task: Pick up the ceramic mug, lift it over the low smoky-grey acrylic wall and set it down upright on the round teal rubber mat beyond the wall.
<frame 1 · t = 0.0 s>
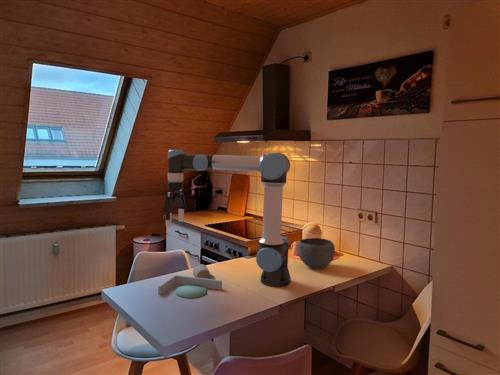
hand: (175, 224, 188), 28 cm above the table, fingers open, 13 cm apart
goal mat: (191, 292, 173), on the table
end wall: (167, 288, 177), on the table
divider wall: (198, 286, 181), on the table
bowl: (315, 267, 217), on the table
ceramic mug: (204, 281, 189), on the table
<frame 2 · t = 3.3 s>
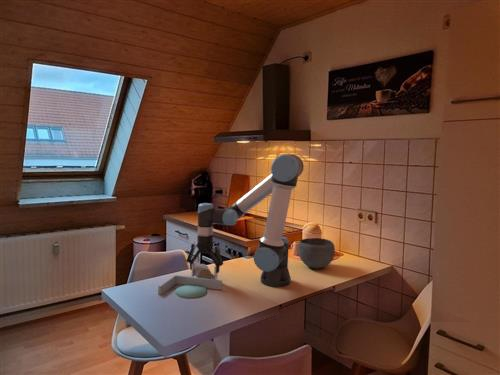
hand: (204, 277, 189), 2 cm above the table, fingers closed on ceramic mug, 11 cm apart
ceramic mug: (205, 280, 189), on the table, touching gripper
everything else where it was.
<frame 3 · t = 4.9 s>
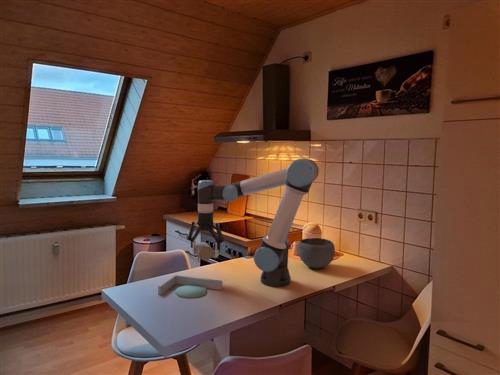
hand: (205, 255, 187), 13 cm above the table, fingers closed on ceramic mug, 11 cm apart
ceramic mug: (206, 258, 188), point 11 cm above the table, touching gripper
everything else where it was.
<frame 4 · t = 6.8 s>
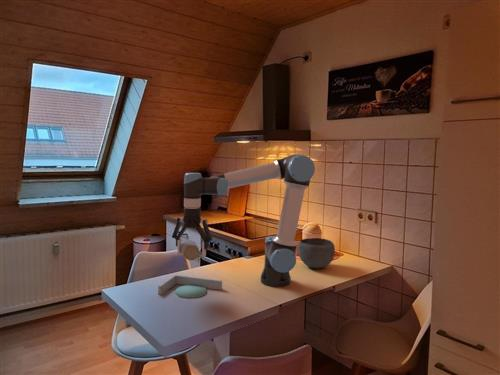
hand: (191, 254, 172), 17 cm above the table, fingers closed on ceramic mug, 11 cm apart
ceramic mug: (192, 258, 172), point 16 cm above the table, touching gripper
everything else where it was.
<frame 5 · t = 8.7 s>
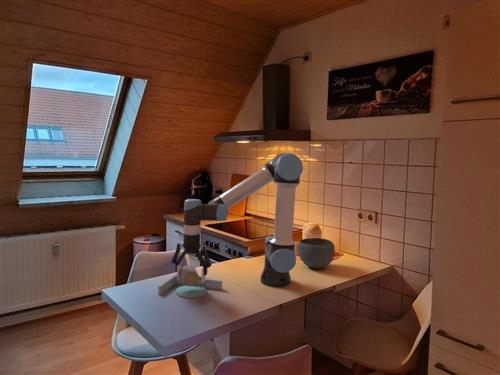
hand: (191, 280, 173), 6 cm above the table, fingers closed on ceramic mug, 11 cm apart
ceramic mug: (192, 283, 173), point 4 cm above the table, touching gripper
everything else where it was.
when the fingers open (4 cm above the table, at t = 10.2 s): ceramic mug drops 1 cm, resting on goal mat.
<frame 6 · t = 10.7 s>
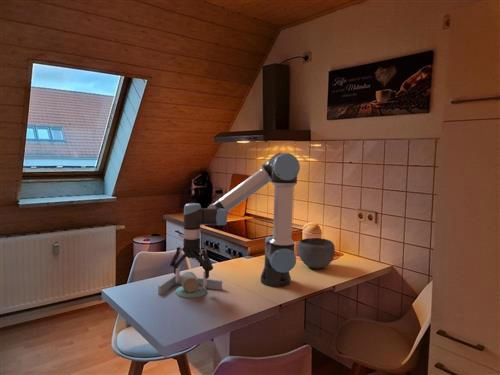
hand: (191, 283, 173), 4 cm above the table, fingers open, 13 cm apart
ceramic mug: (192, 290, 174), point 1 cm above the table, touching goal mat
everything else where it was.
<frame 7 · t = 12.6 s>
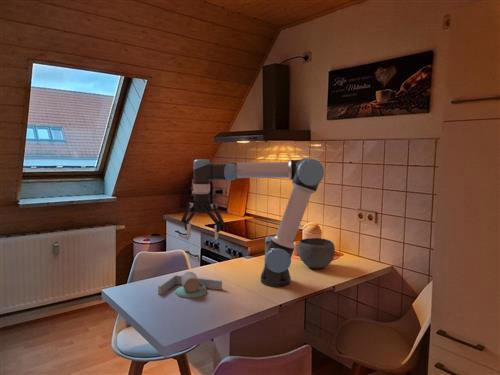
hand: (202, 238, 176), 24 cm above the table, fingers open, 13 cm apart
nothing on the table moved.
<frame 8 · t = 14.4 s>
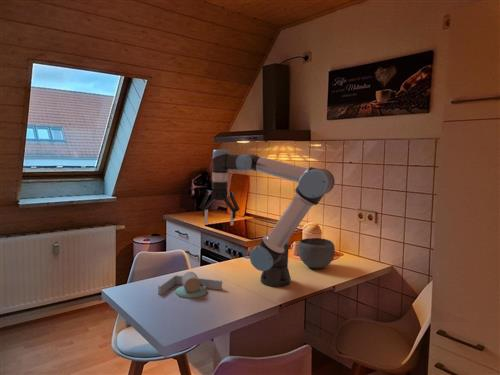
hand: (218, 224, 187), 29 cm above the table, fingers open, 13 cm apart
nothing on the table moved.
at the end: ceramic mug 1.3 cm from the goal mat (horizontally); ceramic mug tilted 0°; ceramic mug touching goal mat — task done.
